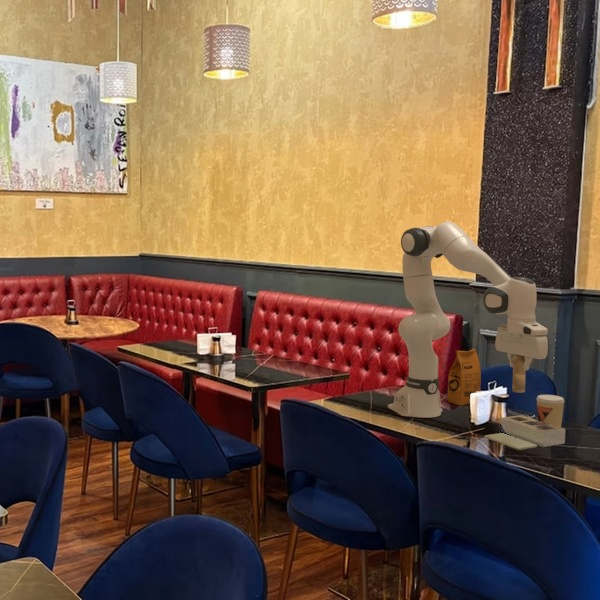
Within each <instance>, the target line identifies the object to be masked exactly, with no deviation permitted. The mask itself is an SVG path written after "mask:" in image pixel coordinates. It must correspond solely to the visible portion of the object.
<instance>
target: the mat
mask: <svg viewBox="0 0 600 600" xmlns="http://www.w3.org/2000/svg"><path fill="white" fill-rule="evenodd" d="M484 438H485V439H488V440H491V441H494V442H496V443H499V444H502V445H504V446H506V447H507V446H508V447H509V448H512V449H514V450H518V451H522V450H527V449H528V450H529V449H533V448H537V447H538V445H535V444H532V443H529V442H527V441H524V440H521V439H518V438H515V437H513V436H510V435H507V434H504V433H501V432H499V433H493V434H492V433H491V434H485V435H484Z"/></svg>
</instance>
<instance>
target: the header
mask: <svg viewBox="0 0 600 600" xmlns="http://www.w3.org/2000/svg"><path fill="white" fill-rule="evenodd" d="M500 424H501V425H502V427H503V429H504V431H505V432H506V433H507V434H509V435H511V436H513V437H516V438H518V439H521V440H524V441H527V442H529V443H532V444H535V445H537V447H540V448H547V447H553V446H559V445H564V444H565V442H566V428H564V427H562V426H561V427H558V426H555V425H551V424H548V423H545V422H542V421H539V420H537V418H536V419H535V418H532V417H529V416H527V415H526V416H525V415H523V414H519V415H513V416H512V415H511V416H505V417H500V418H499V425H500Z"/></svg>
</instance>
